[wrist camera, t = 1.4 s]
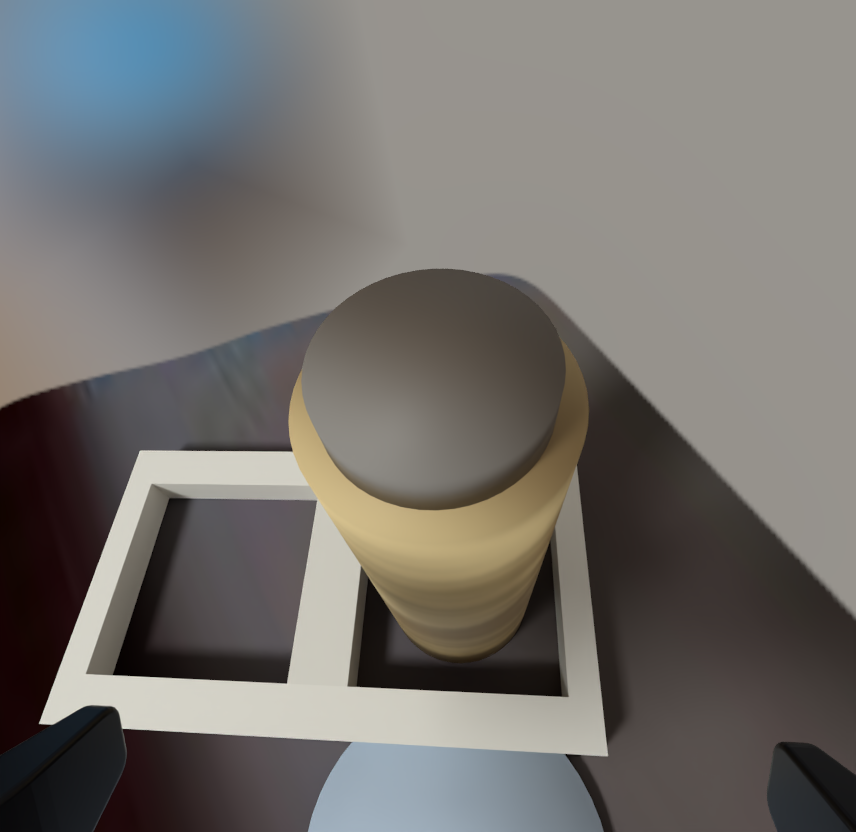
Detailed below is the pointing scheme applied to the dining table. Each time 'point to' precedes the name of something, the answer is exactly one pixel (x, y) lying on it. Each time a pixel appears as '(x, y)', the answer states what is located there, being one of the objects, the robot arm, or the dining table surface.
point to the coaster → (452, 791)
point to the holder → (316, 636)
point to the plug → (442, 448)
